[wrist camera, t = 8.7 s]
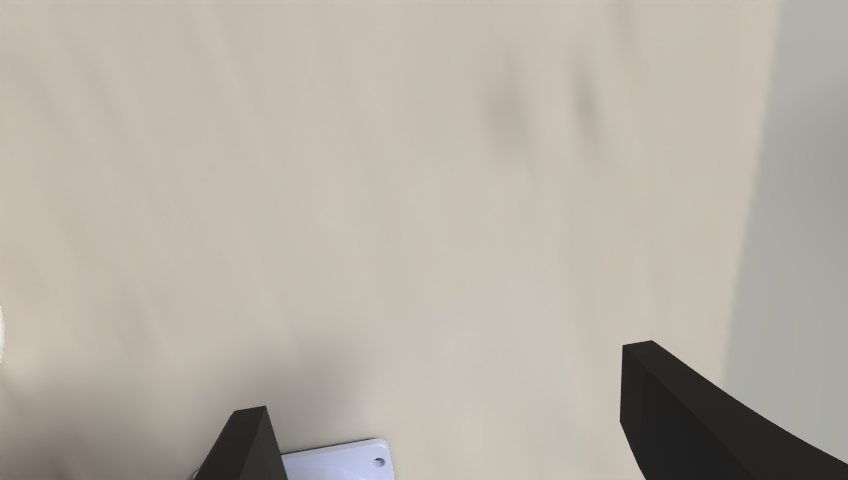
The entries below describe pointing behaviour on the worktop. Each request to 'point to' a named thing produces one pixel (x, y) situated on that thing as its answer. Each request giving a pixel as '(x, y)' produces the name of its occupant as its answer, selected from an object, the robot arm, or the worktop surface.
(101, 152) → the worktop surface
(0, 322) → the white round dish
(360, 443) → the robot arm
